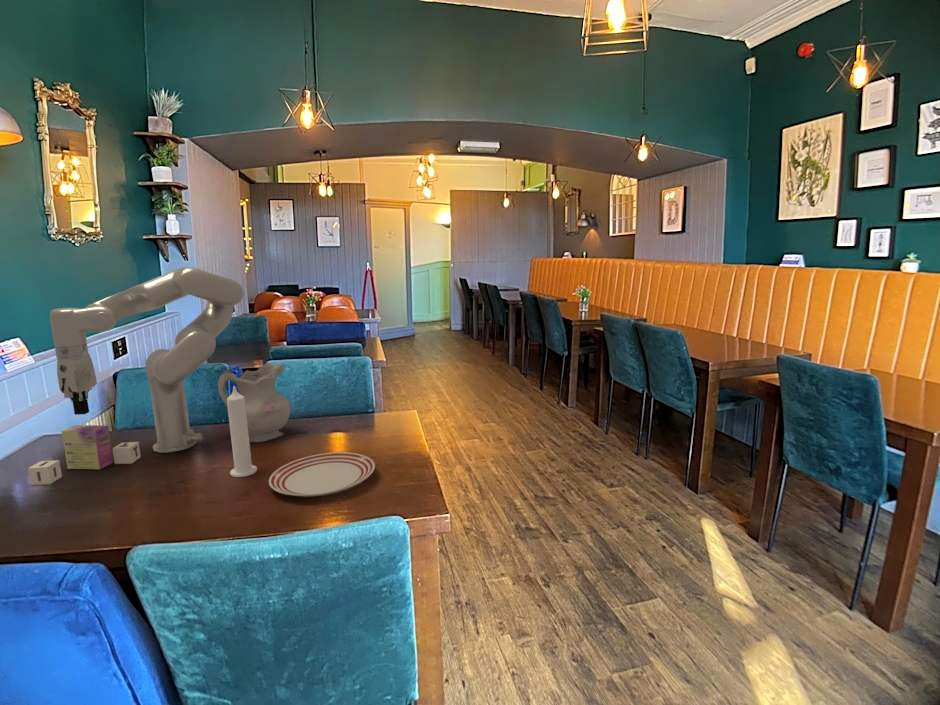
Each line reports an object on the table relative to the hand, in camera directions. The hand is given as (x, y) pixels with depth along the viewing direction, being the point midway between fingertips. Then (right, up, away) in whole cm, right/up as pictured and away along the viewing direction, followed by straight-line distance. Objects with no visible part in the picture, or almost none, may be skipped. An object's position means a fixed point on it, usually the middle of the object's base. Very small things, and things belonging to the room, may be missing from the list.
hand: (82, 413), depth 161 cm
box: (+1, -16, +3) cm, 16 cm away
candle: (+49, -16, -5) cm, 52 cm away
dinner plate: (+74, -17, -13) cm, 77 cm away
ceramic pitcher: (+42, -11, +24) cm, 50 cm away
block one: (-5, -18, -7) cm, 20 cm away
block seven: (+9, -15, +7) cm, 19 cm away
